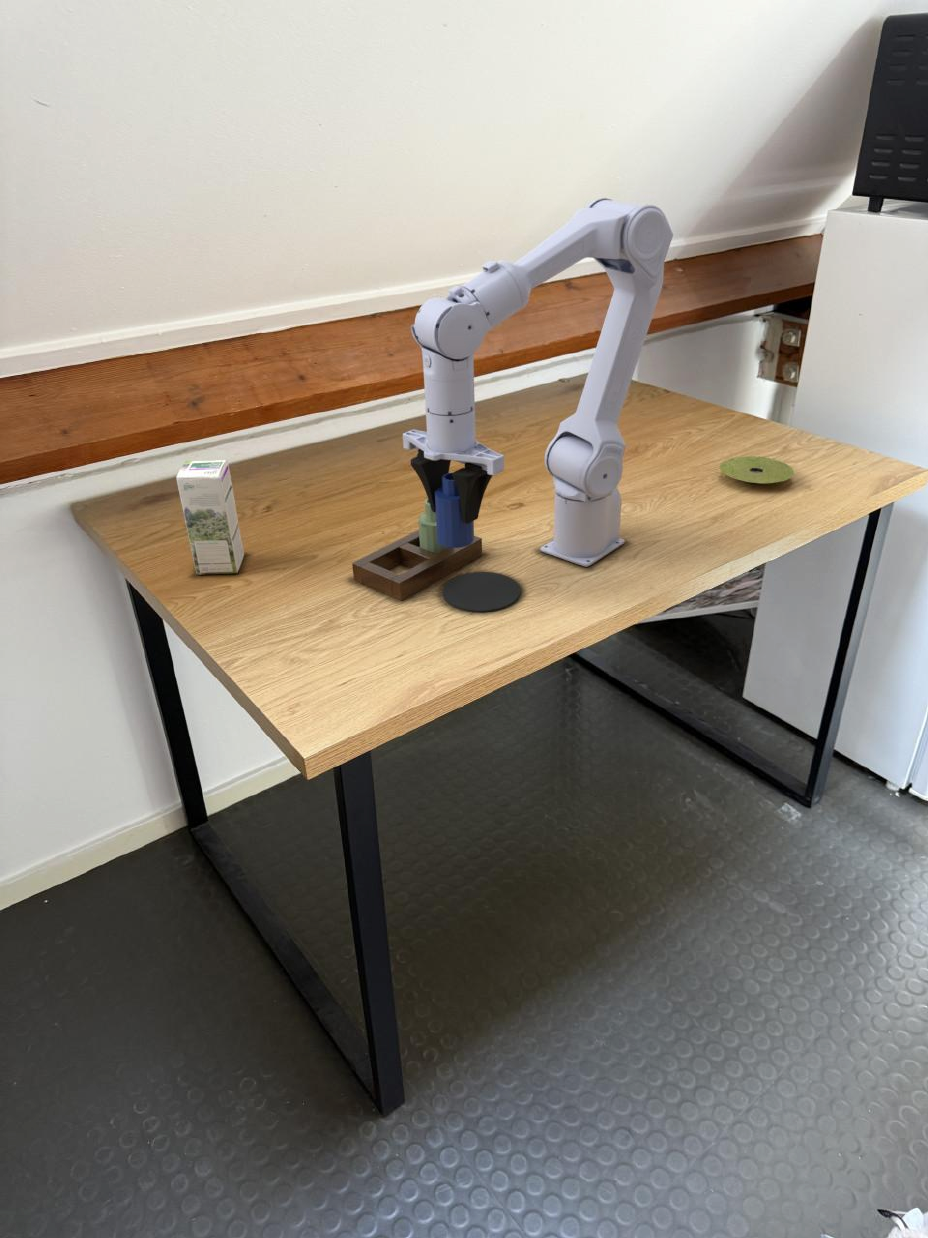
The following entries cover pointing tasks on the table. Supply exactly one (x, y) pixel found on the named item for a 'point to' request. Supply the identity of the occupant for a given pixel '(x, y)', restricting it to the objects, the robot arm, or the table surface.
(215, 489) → the syrup box
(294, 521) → the table surface
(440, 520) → the blue bottle
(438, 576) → the bottle rack
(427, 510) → the sage bottle
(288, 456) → the table surface
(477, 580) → the coaster
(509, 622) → the table surface
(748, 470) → the mat
